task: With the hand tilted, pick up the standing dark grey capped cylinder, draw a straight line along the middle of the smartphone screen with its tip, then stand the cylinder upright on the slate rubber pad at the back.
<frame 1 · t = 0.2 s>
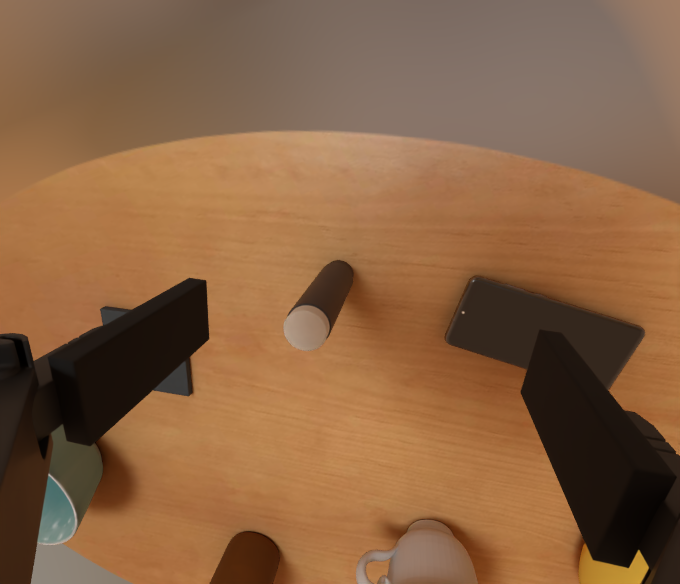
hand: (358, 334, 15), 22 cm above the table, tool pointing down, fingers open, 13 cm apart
pad: (149, 350, 45), on the table
teapot: (626, 538, 42), on the table
teacup: (419, 529, 47), on the table
smartphone: (537, 331, 36), on the table
bowl: (74, 448, 53), on the table
dark grey capped cylinder: (339, 274, 37), on the table
mug: (253, 557, 55), on the table
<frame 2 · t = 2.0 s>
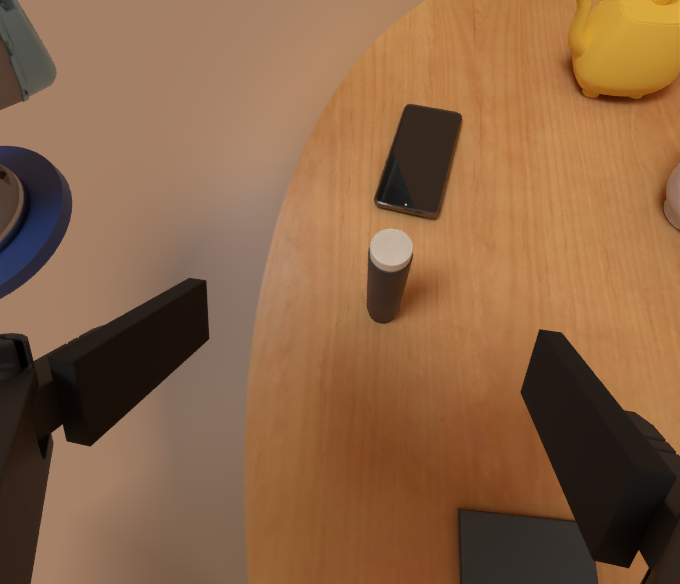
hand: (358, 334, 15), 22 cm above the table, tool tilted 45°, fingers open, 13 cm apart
teapot: (602, 79, 49), on the table
smartphone: (418, 161, 46), on the table
dark grey capped cylinder: (382, 310, 39), on the table
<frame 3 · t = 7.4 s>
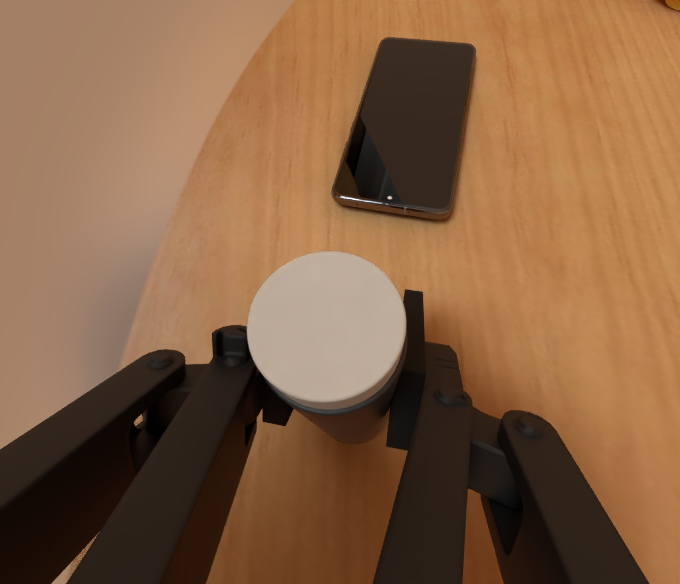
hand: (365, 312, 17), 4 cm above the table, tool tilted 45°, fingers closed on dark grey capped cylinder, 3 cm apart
smartphone: (408, 126, 27), on the table
dark grey capped cylinder: (354, 411, 19), on the table, touching gripper
when the fingers open (4 cm above the table, at t = 28.8 s): dark grey capped cylinder stays where it is, resting on pad.
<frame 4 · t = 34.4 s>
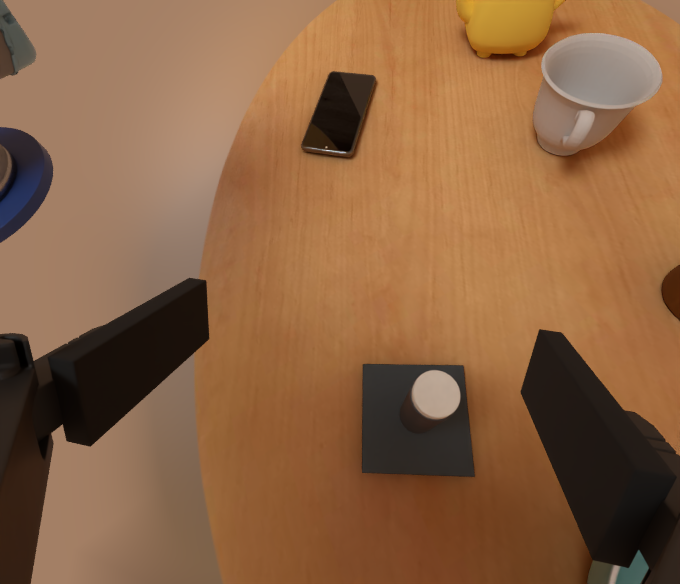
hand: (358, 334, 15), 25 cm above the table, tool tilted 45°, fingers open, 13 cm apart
pad: (414, 417, 37), on the table
teapot: (494, 42, 59), on the table
teacup: (556, 148, 50), on the table
smartphone: (340, 116, 55), on the table
dark grey capped cylinder: (415, 417, 36), point 1 cm above the table, touching pad
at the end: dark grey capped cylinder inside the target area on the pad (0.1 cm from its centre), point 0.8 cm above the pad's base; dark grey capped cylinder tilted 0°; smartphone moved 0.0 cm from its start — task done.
